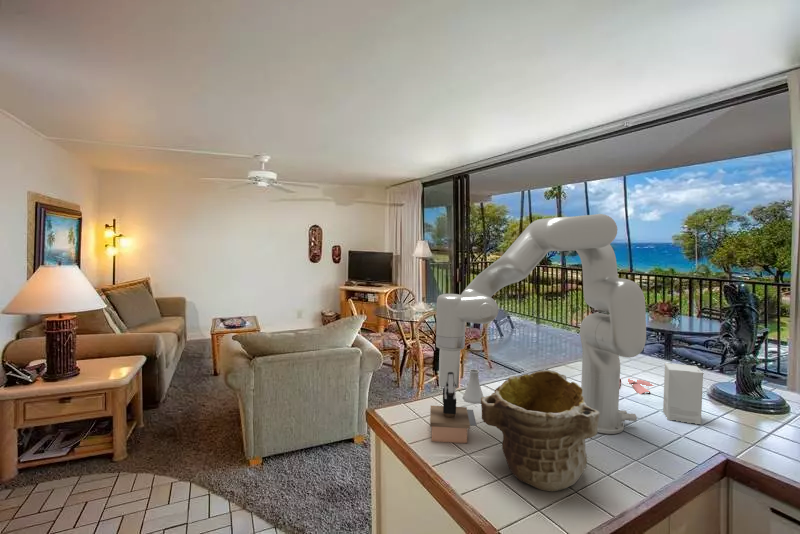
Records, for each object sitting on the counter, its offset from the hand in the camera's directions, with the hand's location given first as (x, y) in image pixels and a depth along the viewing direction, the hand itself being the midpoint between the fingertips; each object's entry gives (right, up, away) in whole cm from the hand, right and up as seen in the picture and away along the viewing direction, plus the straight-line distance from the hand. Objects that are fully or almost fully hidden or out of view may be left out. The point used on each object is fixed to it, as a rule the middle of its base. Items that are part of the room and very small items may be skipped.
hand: (449, 407), depth 99 cm
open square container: (0, -7, 0) cm, 7 cm away
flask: (+11, -6, +23) cm, 26 cm away
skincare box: (+70, -8, +11) cm, 71 cm away
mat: (+4, -7, +10) cm, 13 cm away
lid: (0, -3, 0) cm, 3 cm away
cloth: (+69, -7, +36) cm, 78 cm away
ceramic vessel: (+17, -9, -15) cm, 24 cm away
